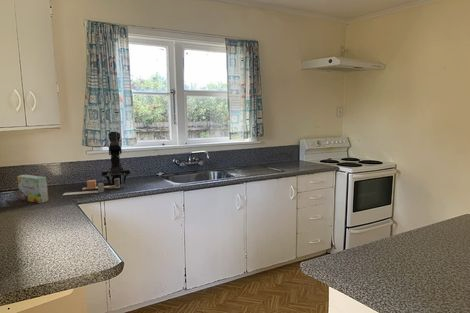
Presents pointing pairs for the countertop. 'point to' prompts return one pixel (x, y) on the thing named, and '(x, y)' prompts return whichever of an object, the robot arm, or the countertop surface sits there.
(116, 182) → the beige rectangular bar
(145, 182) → the countertop surface
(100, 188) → the white long bar
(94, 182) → the terracotta block
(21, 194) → the snack box
